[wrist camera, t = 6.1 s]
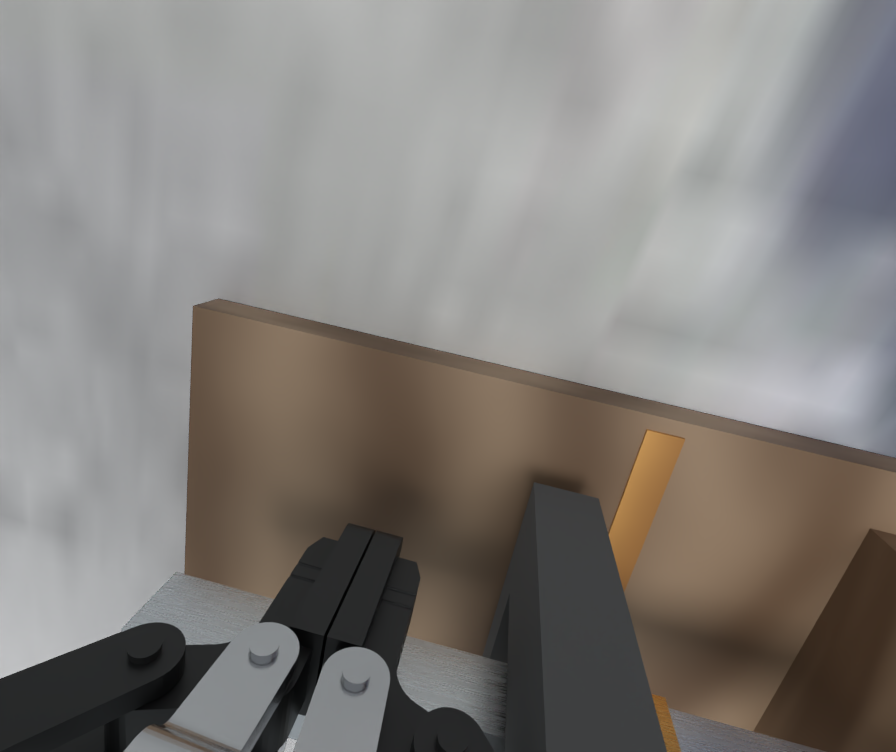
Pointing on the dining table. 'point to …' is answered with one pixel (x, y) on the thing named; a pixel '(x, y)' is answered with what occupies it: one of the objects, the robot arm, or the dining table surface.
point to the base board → (569, 468)
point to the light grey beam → (424, 670)
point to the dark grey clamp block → (569, 637)
